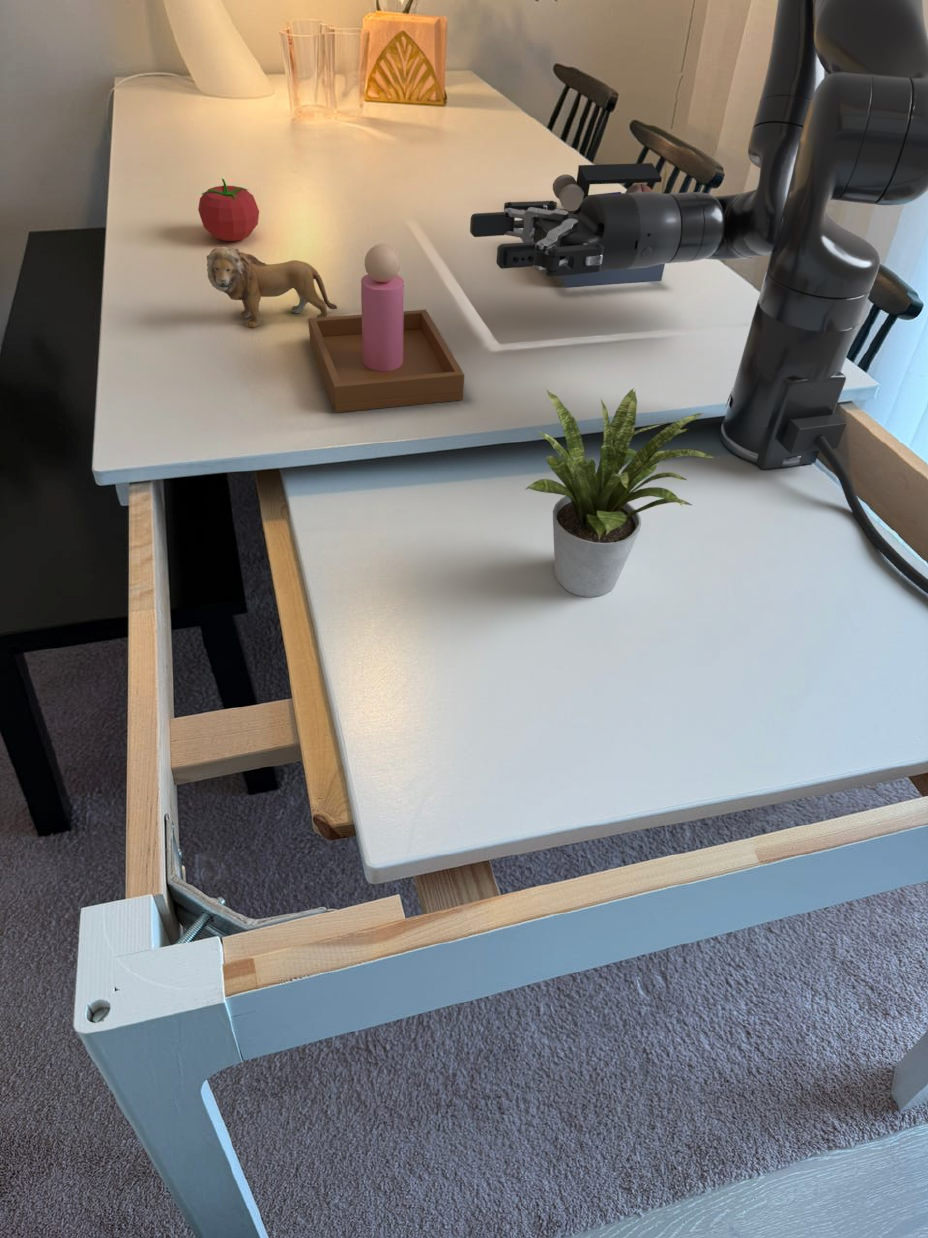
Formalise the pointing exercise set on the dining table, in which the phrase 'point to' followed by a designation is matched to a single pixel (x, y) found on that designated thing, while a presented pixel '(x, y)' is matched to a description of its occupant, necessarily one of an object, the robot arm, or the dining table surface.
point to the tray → (360, 388)
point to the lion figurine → (263, 281)
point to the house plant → (603, 496)
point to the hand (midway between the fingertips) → (484, 240)
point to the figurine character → (603, 181)
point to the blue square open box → (612, 276)
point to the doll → (382, 310)
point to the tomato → (228, 212)
